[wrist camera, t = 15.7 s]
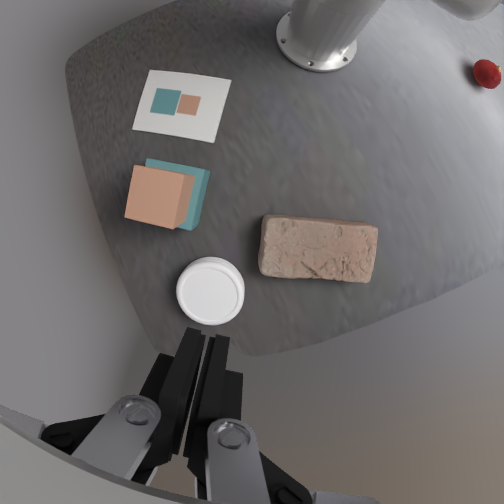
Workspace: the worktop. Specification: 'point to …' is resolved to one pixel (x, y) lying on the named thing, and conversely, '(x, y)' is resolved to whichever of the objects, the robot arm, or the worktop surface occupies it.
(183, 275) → the coaster
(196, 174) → the base block
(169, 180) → the clay block
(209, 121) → the page
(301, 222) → the brick
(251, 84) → the worktop surface
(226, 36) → the worktop surface
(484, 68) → the onion
